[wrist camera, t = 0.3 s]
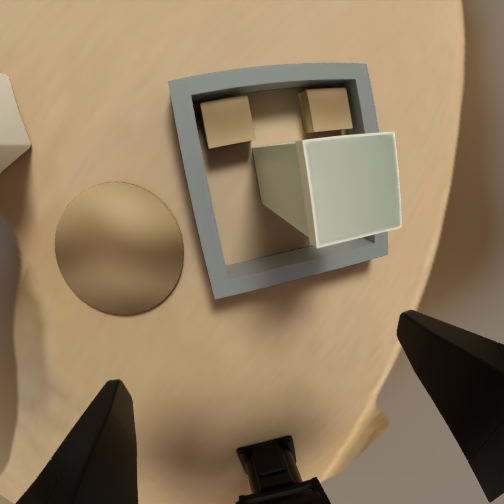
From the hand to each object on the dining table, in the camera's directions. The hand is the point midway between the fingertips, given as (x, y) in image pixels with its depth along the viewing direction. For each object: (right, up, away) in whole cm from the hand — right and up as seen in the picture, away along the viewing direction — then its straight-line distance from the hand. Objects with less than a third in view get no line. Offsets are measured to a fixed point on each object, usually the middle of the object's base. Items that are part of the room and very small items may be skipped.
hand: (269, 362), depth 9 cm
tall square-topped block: (+2, +9, +13) cm, 16 cm away
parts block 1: (-2, +12, +11) cm, 17 cm away
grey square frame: (+2, +9, +13) cm, 16 cm away
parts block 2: (+4, +13, +12) cm, 19 cm away
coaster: (-10, +3, +12) cm, 16 cm away
